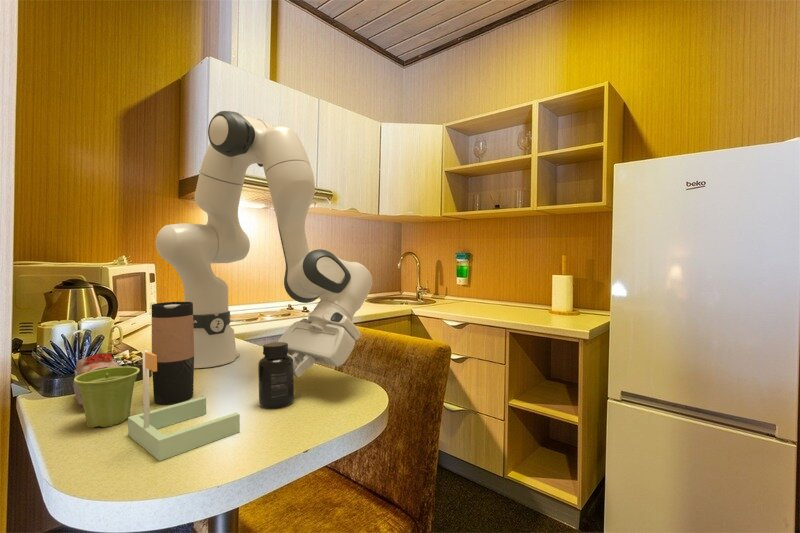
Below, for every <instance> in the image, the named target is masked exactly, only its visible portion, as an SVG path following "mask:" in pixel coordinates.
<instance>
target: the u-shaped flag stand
mask: <svg viewBox="0 0 800 533" xmlns="http://www.w3.org/2000/svg"><path fill="white" fill-rule="evenodd" d="M150 371H151V372H152V371H154V372H155V371H157V355H155V354H153V353H152V352H150V351H149V349H142V389H143V390H142V395H143V396H142V399H143V401H142V403H143V406H142V408H143V412H142V413H139V414H135V415H134V414H133V415H131V416H130V415H129V417H128V418H127V426H128V427H127V435H128V436H129V437H130V438H131V439H132V440H133V441H134V442H136V443H137V444H138V445H140V447H142V448H143V449H144V450H145V451H147V453H149V454H150V455H151V456H152V457H154V458H155V459H156V460H157V461H158V462H162V461H164V460H167V459H169V458H173V457H175V456H177V455H180V454H183V453H185V452H189V451H192V450H193V449H197V448H199V447H202V446H204V445H208V444H210V443H213V442H216V441H218V440H221V439H224V438H227V437H230V436H232V435H235V434H238V433H240V431H241V427H240V426H241V424H240V421H241V420H240V419H241V417H240V416H241V414H240V413H238V412H233V413H230V414H226V415H224V416H221V417H218V418H215V419H212V420H211V419H210V420H208V421H205V422H202V423H198V424H196V425H192V426H189V427H186V428H184V429H180V430H178V431H174V432H171V433H169V434H164V433H162V432H161V431H159V429H163V428H166V427H169V426H172V425H174V424H178V423H181V422H184V421H189V420H190V419H194V418H197V417H201V416H205V415H207V397H204V396H201V397H197V398H193V399H189V400H187V401H184V402H181V403H177V404H171V405H168V406H167V405H166V406H164V407H160V408H157V409H153V410H150V406H151V405H150V404H151V403H150Z"/></svg>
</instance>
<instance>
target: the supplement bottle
mask: <svg viewBox="0 0 800 533" xmlns="http://www.w3.org/2000/svg"><path fill="white" fill-rule="evenodd" d="M287 353H288V343H286V342H277V341H276V342H267V343H264V344H263V346H262V355H263V357H262V358H261V359H260V360H259V361H258V364H257V366H258V368H257V369H258V378H257V379H258V403H259V406H260V407H261V408H264V409H279V408H280V409H281V408H284V407H286V406H290V405H291V404H292V403H294V401H295V380H294V379H295V376H294V366H293V359H292V356H291V355H289V354H287Z"/></svg>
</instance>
